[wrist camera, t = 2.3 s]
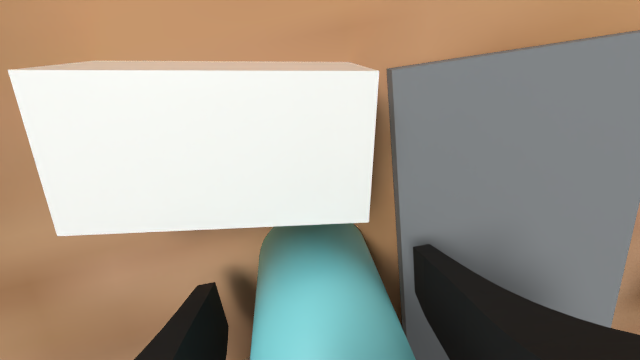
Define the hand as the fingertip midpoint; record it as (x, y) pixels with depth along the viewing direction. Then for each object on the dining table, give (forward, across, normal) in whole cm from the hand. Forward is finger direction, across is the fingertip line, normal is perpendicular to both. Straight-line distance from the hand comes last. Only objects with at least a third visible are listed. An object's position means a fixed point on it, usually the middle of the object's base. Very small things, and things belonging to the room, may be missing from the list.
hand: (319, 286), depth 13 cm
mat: (+2, -8, 0) cm, 9 cm away
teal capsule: (+2, 0, 0) cm, 2 cm away
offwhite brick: (+2, +2, -6) cm, 7 cm away
